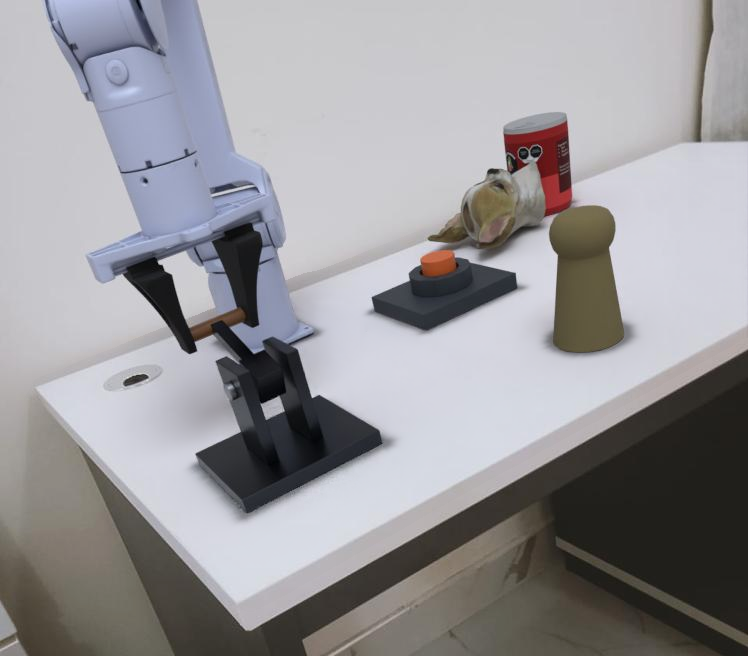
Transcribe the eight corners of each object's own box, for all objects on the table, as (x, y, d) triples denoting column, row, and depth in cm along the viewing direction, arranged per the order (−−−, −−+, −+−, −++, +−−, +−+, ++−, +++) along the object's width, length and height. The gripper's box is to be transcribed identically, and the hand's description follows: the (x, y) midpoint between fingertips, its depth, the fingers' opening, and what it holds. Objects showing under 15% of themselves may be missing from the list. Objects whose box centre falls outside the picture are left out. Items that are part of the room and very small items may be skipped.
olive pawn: (626, 347, 63) (622, 214, 57) (552, 355, 65) (541, 227, 58) (622, 319, 68) (618, 192, 62) (553, 327, 69) (542, 205, 63)
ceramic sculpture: (565, 147, 88) (471, 195, 83) (574, 220, 93) (485, 270, 88) (502, 147, 96) (413, 191, 91) (513, 215, 101) (429, 260, 96)
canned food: (502, 212, 103) (492, 126, 97) (555, 196, 104) (548, 109, 98) (528, 222, 97) (519, 131, 91) (583, 205, 98) (578, 113, 92)
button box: (374, 311, 83) (367, 281, 81) (460, 273, 87) (455, 243, 85) (426, 330, 75) (420, 297, 73) (517, 288, 79) (514, 255, 77)
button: (416, 275, 80) (413, 259, 79) (443, 264, 81) (440, 248, 80) (436, 281, 77) (433, 264, 76) (463, 269, 78) (461, 252, 78)
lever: (187, 345, 61) (181, 320, 60) (242, 322, 63) (236, 298, 61) (245, 412, 56) (239, 387, 54) (302, 385, 57) (299, 360, 56)
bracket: (199, 465, 62) (160, 369, 57) (322, 406, 66) (295, 312, 61) (247, 513, 55) (206, 407, 50) (382, 443, 59) (357, 339, 54)
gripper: (73, 196, 48) (152, 385, 56) (270, 133, 53) (318, 314, 61) (52, 189, 54) (126, 362, 61) (232, 132, 59) (281, 298, 66)
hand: (220, 337), depth 61 cm, fingers closed on lever, 5 cm apart
